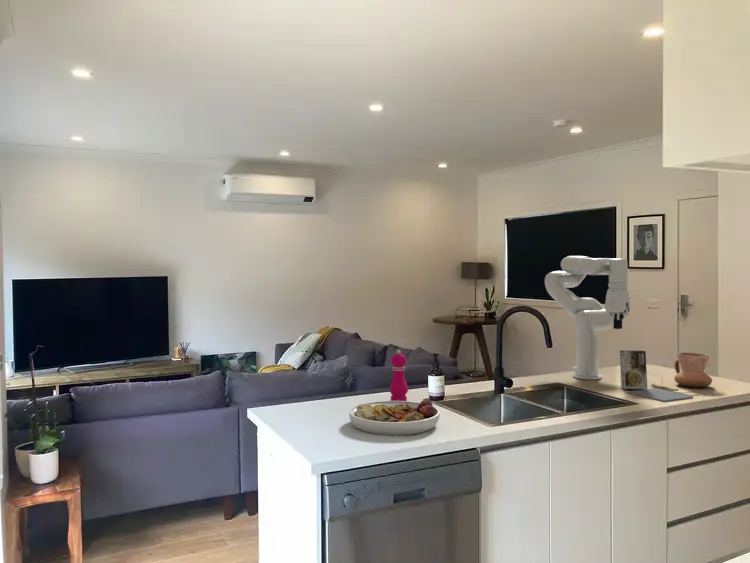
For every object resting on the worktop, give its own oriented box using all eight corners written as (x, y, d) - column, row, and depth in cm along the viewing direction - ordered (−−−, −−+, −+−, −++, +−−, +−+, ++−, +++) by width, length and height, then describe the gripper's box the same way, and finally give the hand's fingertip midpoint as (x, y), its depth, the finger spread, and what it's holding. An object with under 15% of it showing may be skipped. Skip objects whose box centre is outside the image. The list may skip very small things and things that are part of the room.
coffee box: (642, 388, 257) (641, 350, 258) (647, 389, 251) (646, 350, 252) (620, 387, 258) (619, 350, 259) (625, 389, 252) (623, 350, 253)
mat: (627, 392, 247) (627, 391, 247) (655, 389, 254) (655, 388, 254) (664, 402, 231) (664, 400, 231) (693, 398, 238) (693, 396, 238)
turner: (648, 387, 259) (648, 384, 259) (657, 386, 261) (657, 383, 261) (689, 396, 241) (689, 393, 241) (698, 395, 243) (698, 392, 243)
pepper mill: (410, 399, 236) (410, 349, 236) (403, 403, 230) (403, 351, 229) (393, 398, 239) (393, 348, 239) (386, 401, 233) (386, 350, 232)
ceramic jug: (722, 389, 255) (722, 355, 255) (695, 390, 251) (695, 356, 251) (689, 382, 272) (689, 350, 272) (663, 383, 268) (663, 351, 268)
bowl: (370, 443, 180) (370, 417, 179) (336, 419, 207) (336, 397, 207) (456, 432, 192) (456, 407, 191) (413, 411, 219) (413, 389, 219)
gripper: (598, 286, 267) (598, 327, 267) (625, 287, 253) (625, 330, 253) (611, 286, 270) (610, 326, 270) (638, 287, 256) (638, 330, 257)
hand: (617, 328), depth 262 cm, fingers closed
